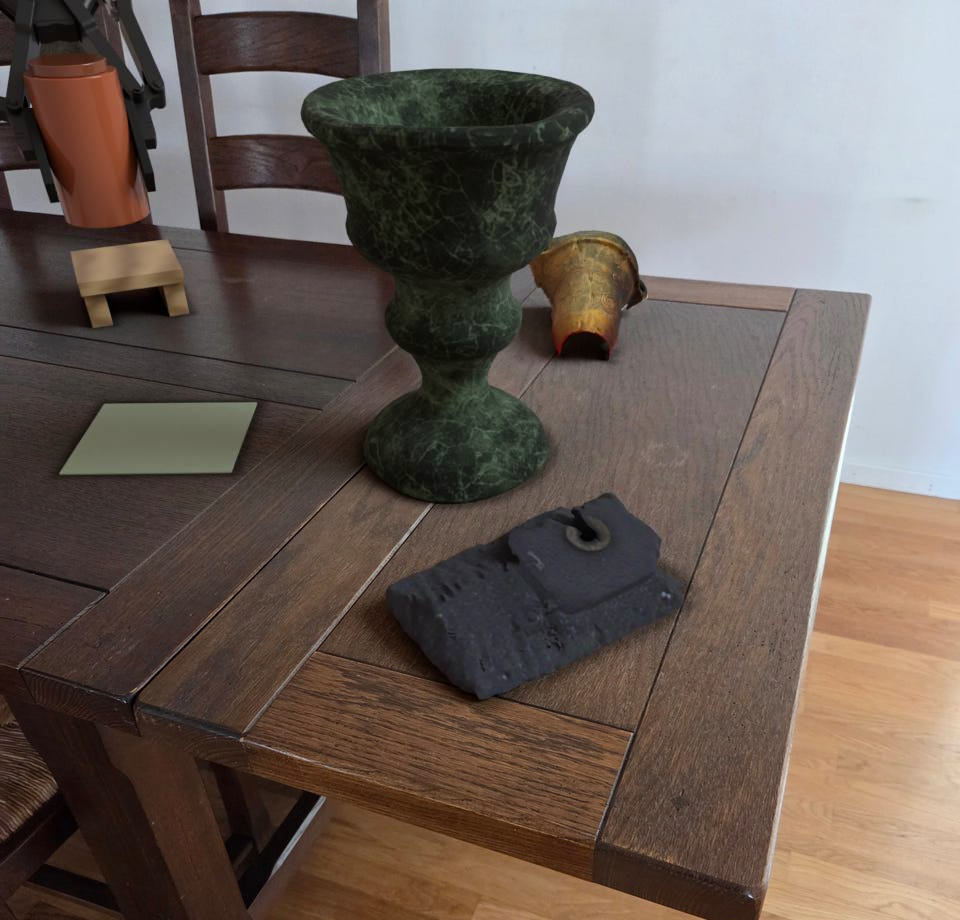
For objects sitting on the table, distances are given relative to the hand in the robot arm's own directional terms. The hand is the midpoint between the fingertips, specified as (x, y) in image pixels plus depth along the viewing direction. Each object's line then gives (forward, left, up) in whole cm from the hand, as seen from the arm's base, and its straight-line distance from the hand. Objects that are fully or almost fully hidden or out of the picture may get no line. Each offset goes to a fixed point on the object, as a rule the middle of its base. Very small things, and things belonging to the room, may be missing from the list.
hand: (101, 187), depth 75 cm
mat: (0, -2, -22) cm, 23 cm away
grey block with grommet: (+35, -28, -23) cm, 51 cm away
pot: (+44, +25, -23) cm, 56 cm away
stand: (-12, +32, -23) cm, 41 cm away
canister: (-1, +3, -3) cm, 5 cm away
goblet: (+29, -5, -23) cm, 37 cm away
